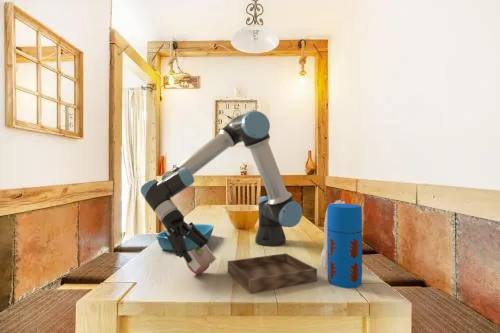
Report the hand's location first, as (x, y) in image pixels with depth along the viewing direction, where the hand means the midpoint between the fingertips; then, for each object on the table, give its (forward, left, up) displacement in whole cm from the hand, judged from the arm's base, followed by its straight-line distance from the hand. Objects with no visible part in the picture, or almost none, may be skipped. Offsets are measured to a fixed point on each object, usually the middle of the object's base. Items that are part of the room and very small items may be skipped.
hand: (206, 264), depth 106 cm
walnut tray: (-20, +9, -4) cm, 22 cm away
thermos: (-40, +23, -4) cm, 47 cm away
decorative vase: (-48, +9, -4) cm, 49 cm away
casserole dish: (-4, -48, -4) cm, 48 cm away
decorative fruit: (+2, -3, -4) cm, 5 cm away
